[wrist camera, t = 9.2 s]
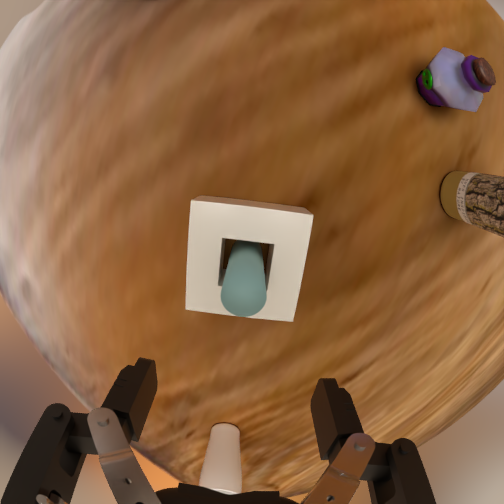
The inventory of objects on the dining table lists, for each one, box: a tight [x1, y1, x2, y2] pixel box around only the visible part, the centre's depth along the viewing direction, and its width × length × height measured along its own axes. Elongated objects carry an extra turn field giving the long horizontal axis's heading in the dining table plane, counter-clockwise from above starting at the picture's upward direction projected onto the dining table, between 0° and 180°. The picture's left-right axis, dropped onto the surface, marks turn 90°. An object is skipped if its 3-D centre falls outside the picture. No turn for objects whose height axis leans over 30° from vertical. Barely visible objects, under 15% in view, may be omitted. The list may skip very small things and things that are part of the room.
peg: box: [221, 240, 267, 317], centre depth 27 cm, size 4×4×12 cm
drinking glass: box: [199, 423, 242, 495], centre depth 36 cm, size 7×7×15 cm
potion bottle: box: [416, 47, 496, 112], centre depth 20 cm, size 9×9×12 cm
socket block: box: [186, 195, 313, 322], centre depth 30 cm, size 12×12×5 cm
